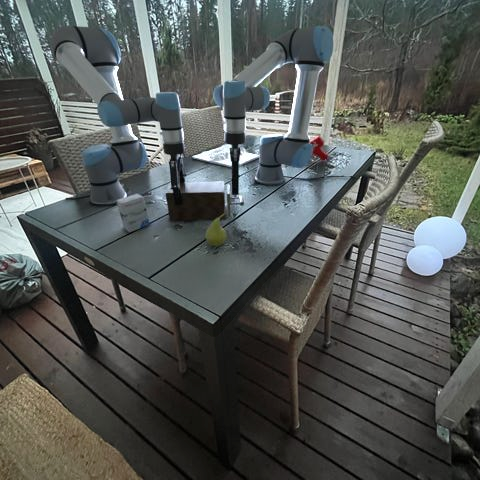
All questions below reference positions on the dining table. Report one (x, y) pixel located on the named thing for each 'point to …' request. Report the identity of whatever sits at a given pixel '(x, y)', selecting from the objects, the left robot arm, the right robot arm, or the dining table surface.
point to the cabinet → (197, 201)
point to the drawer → (232, 198)
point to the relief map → (225, 156)
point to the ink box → (133, 212)
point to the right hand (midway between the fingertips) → (235, 194)
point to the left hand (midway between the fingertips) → (181, 198)
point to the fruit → (216, 233)
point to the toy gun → (318, 148)
